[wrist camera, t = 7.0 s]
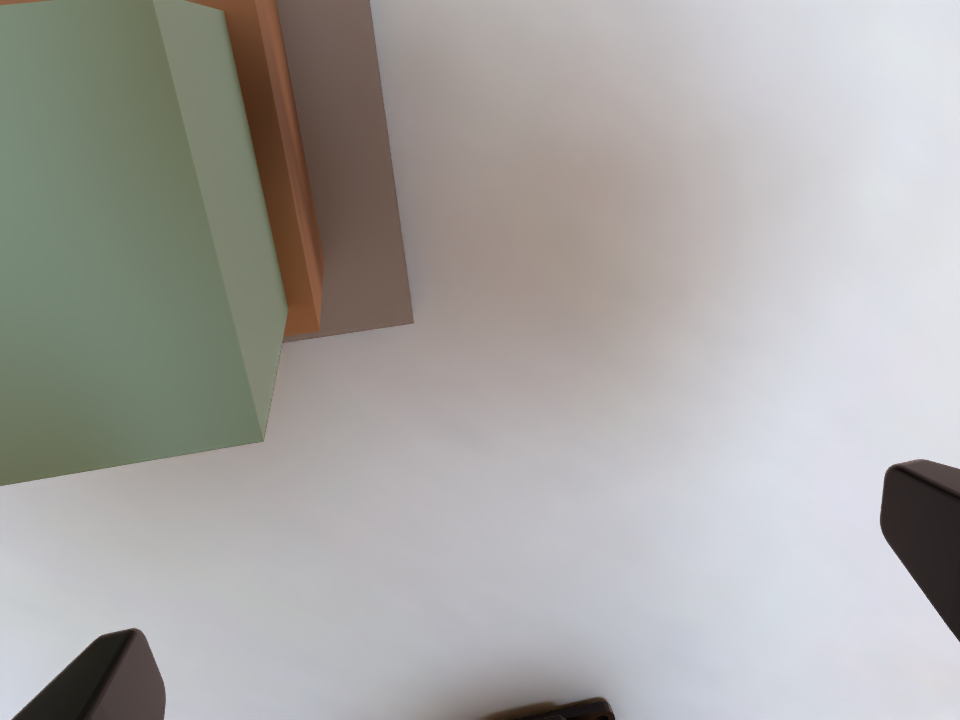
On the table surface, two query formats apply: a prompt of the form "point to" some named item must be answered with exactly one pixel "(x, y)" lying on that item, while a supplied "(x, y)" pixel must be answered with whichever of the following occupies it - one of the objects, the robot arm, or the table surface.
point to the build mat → (347, 164)
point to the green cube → (129, 240)
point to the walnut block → (275, 152)
